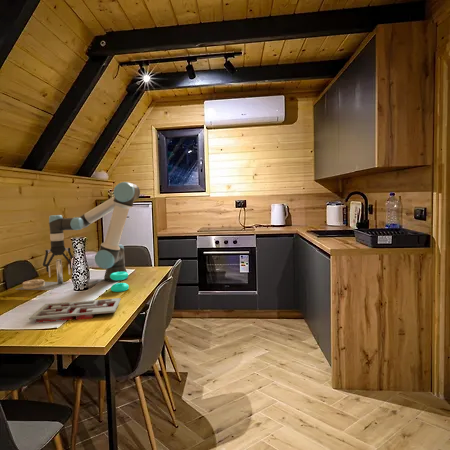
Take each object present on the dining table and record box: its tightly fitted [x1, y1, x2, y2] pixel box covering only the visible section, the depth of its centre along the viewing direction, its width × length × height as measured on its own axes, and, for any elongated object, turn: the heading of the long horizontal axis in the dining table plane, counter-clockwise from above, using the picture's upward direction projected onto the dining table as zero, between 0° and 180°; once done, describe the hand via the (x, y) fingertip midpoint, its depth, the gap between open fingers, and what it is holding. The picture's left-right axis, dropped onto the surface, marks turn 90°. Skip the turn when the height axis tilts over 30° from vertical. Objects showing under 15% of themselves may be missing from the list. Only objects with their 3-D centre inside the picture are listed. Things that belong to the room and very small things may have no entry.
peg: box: [55, 258, 64, 284], centre depth 210 cm, size 3×3×15 cm
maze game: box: [28, 297, 122, 323], centre depth 156 cm, size 35×20×3 cm, turn 99°
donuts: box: [110, 271, 130, 293], centre depth 195 cm, size 10×10×10 cm
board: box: [14, 281, 71, 291], centre depth 206 cm, size 24×18×2 cm
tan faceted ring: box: [22, 278, 45, 289], centre depth 205 cm, size 11×11×3 cm
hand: (59, 275), depth 210 cm, fingers open, 10 cm apart
